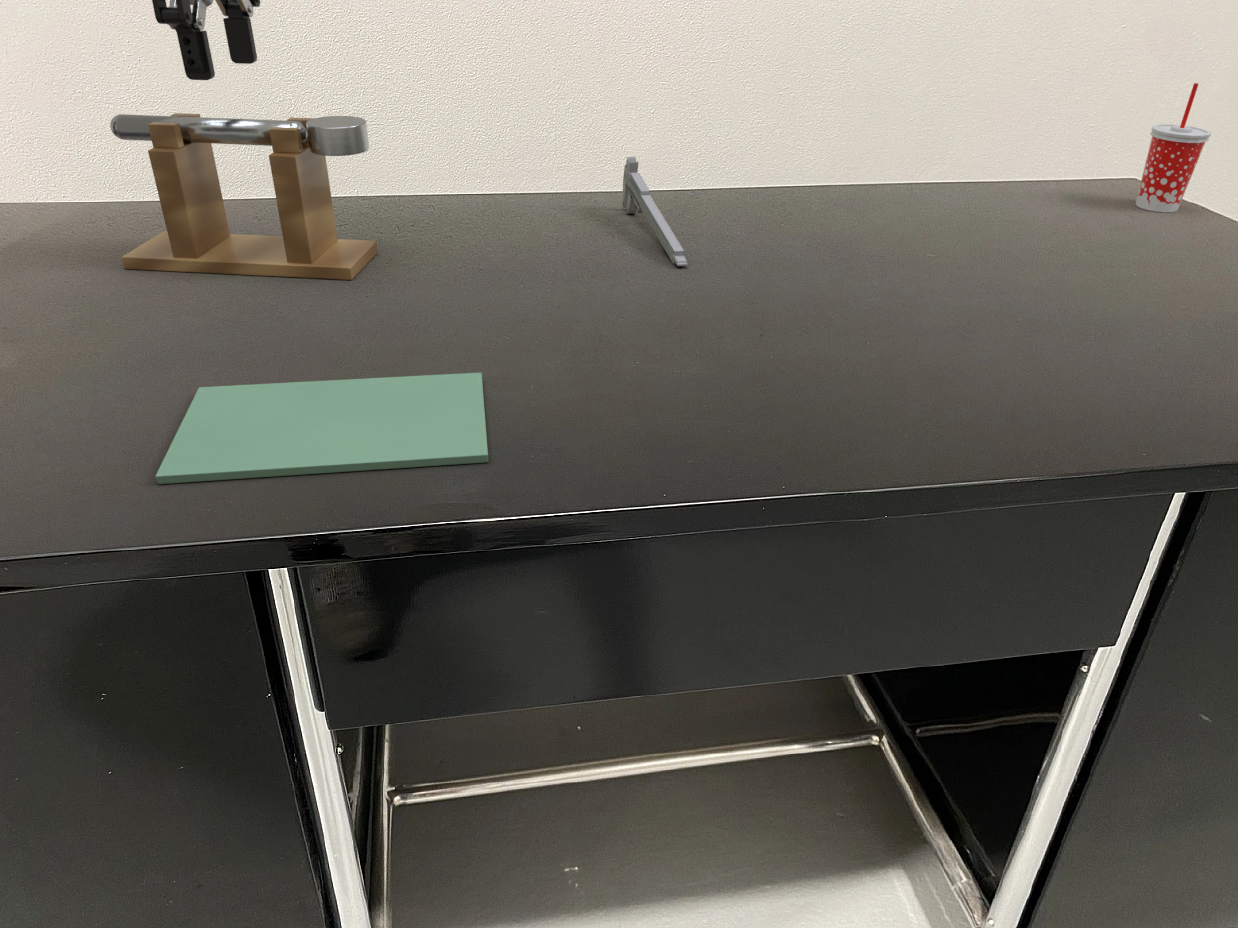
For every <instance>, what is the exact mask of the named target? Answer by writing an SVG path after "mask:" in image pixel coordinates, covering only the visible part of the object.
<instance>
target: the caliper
mask: <svg viewBox="0 0 1238 928" xmlns="http://www.w3.org/2000/svg"><path fill="white" fill-rule="evenodd" d="M638 171H639V161H637V157H636V156H627V157H626V164H624V169H623V178H622V208H623V209H626V215H635V214H636V213H638V214H643V215H644V217H645V219H646V220H647V222H648V224H649V225H650V227H651V229H652V230H653V233H654V234H655V235H656V238H657V239H658V241H659V243H660V244H661V246H662V248H663V249H664V252H665V253H666V255H667V257H668V258H669V260H670V262H671V263H672V265H676V266H677V267H683V266H688V261H687V259H686V257H685V250H684V248H683V247H682V245H681V243H680V242H679V240H678V238H677V237H676V235H675V234H674V232H673V231H672V228H671V226H670V225H669V224H668V222H667V221H666V219H665V216H663V213H662V211H660V209H659V208H658V206H657V204H656V202H655V201H654V199H653V197H652V196H651V190H650V189H649V187H648V185H647V183H646V181H645V180H644V179H643V177H642V175H641V173H640V172H638Z"/></svg>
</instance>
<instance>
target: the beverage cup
mask: <svg viewBox="0 0 1238 928" xmlns="http://www.w3.org/2000/svg"><path fill="white" fill-rule="evenodd" d="M1198 88H1199V83H1198V82H1194V83H1193V86H1192V89H1191V92H1190V95H1189V98H1188V101H1187V104H1186V107H1185V110H1184V113H1183V115H1182V120H1181V121H1180V124H1171V123H1170V124H1167V123H1166V124H1165V123H1162V124H1161V123H1160V124H1155V125H1152V126H1151V132H1150V133H1149V134H1150V135H1151V138H1150V142H1149V147H1148V151H1147V156H1146V160H1145V163H1144V167H1143V172H1142V176H1141V179H1140V184H1139V188H1138V193H1137V196H1136V200H1135V206H1136V207H1138V208H1139V209H1142V210H1146V211H1150V212H1156V213H1176V212H1177V211H1178V210H1179V208H1180V206H1181V203H1182V200H1183V198H1184V196H1185V193H1186V190H1187V189H1188V186H1189V183H1190V181H1191V179H1192V176H1193V174H1194V171H1195V168H1196V166H1197V164H1198V162H1199V159H1200V156H1201V155H1202V152H1203V149H1204V147H1205V144H1206V143H1207V142H1209V139H1210V137H1211V135H1212V133H1211V131H1209V130H1207V129H1205V128H1201V127H1197V126H1190V125H1186V124H1187V121H1188V118H1189V115H1190V111H1191V109H1192V105H1193V103H1194V99H1195V97H1196V93H1197V91H1198Z"/></svg>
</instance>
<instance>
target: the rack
mask: <svg viewBox="0 0 1238 928" xmlns="http://www.w3.org/2000/svg"><path fill="white" fill-rule="evenodd" d="M170 116H178V117H201V114H200V113H185V112H183V113H182V112H175V113H172V114H171V115H170ZM315 118H316V117H315ZM315 118H314V117H290V118H288V119H287V118H286V121H297V122H300V123H301V124H302V125H304V127H305V128H306V122H307V121H309V120H311V119H315ZM148 127H149V132H150V136H151V140H152V141H151V144H152V148H150V149H148V150H147V153H148V157H149V161H150V162H149V163H150V166H151V169H152V174H153V178H154V182H155V186H156V190H157V191H156V192H157V195H158V199H159V203H160V207H161V211H162V216H163V220H164V222H165V223H164V224H165V228H166V230H163V231H161V232H160V233H158V234H157V235H155V236H153V237H152V238H150V239H149V240H147V241H145V242H144V243H142V244H140V245H139V246H137V247H135V248H134V249H132V250H131V251H129V252H128V253H126V254H124V255H122V256H121V261H122V265H123V268H124V269H125V270H137V271H138V270H139V271H140V270H141V271H157V272H158V271H159V272H181V273H201V274H202V273H203V274H221V275H222V274H223V275H224V274H225V275H242V276H259V277H261V276H263V277H281V278H301V279H302V278H303V279H304V278H305V279H325V280H341V281H342V280H343V281H344V280H345V281H352V280H353V279H354V278H355V277H356V276H357V275H358V274H359V273H361V271H362V270H363V269H364V268H365V267H366V265H367V264H368V263H369V262H370V261H372V259H373V258H374V257H375V256H376V255H377V254H378V253H379V249H378V242H377V240H366V239H349V238H348V239H345V238H338V233H337V227H336V220H335V215H334V214H335V212H334V205H333V199H332V192H331V185H330V184H331V183H330V179H329V171H328V163H327V158H326V157H327V156H324V155H318V154H314V153H312V152H311V151H310V147H309V141H308V137H307V140H306V142H305V143H304V144H303V145H302V141H301V134H300V128H293V127H272V128H271V129H269V131H270V137H271V143H272V146H271V148H272V153H270V154H268V160H269V166H270V172H271V177H272V182H273V188H274V194H275V200H276V205H277V212H278V217H279V222H280V223H279V224H280V228H281V229H280V230H281V234H282V235H281V236H280V235H278V236H277V235H259V234H236V233H230V228H229V223H228V218H227V213H226V208H225V203H224V199H223V193H222V190H221V189H222V188H221V183H220V180H219V174H218V169H217V164H216V159H215V155H214V149H213V143H189V142H183V139H182V134H181V130H180V125H179V123H166V122H152V123H150V124H148ZM306 130H307V128H306Z"/></svg>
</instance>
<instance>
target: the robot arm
mask: <svg viewBox="0 0 1238 928" xmlns="http://www.w3.org/2000/svg"><path fill="white" fill-rule="evenodd" d="M214 1H215V2H216V4H217V6H218V8H219V10H220V12H221V13H222V16H224V18H223V19H222V20H223V26H224V31H225V36H226V39H227V40H226V42H227V47H228V52H229V57H230V60H231V62H233V64H240V65H242V64H243V65H244V64H245V65H246V64H247V65H252V64H254V63H256V62H257V61H258V54H257V47H256V43H255V38H254V37H255V36H254V32H253V26H252V22H251V20H252V19H251V18H252V17H254V8H259V7H260V6H261V0H169V5H168V6H167V0H151V2H152V8H153V12H154V18H155V20H156V22H157V23H158V24H160V25H167V26H169V28H170V29H171V30H175V32H176V36H177V41H178V45H179V49H180V55H181V60H182V64H183V68H184V73H185V77H187V78H188V79H189V80H191V81H210V80H212V79H214V78H215V77H216V76H215V75H216V73H215V67H214V62H213V58H212V52H211V47H210V41H209V37H208V32H207V30H205V26H206V18H207V17H206V16H207V8H208V7H210V6H212V4H213V3H214ZM191 6H192V7H191Z"/></svg>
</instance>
